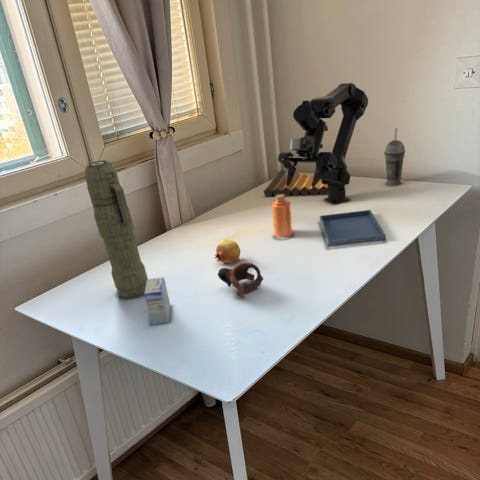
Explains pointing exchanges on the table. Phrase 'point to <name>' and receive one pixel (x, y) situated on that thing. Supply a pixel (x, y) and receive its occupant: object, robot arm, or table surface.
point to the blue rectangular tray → (351, 228)
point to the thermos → (116, 228)
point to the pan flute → (294, 185)
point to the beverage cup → (394, 161)
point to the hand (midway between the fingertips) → (299, 186)
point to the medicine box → (157, 300)
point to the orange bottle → (282, 216)
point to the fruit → (227, 251)
